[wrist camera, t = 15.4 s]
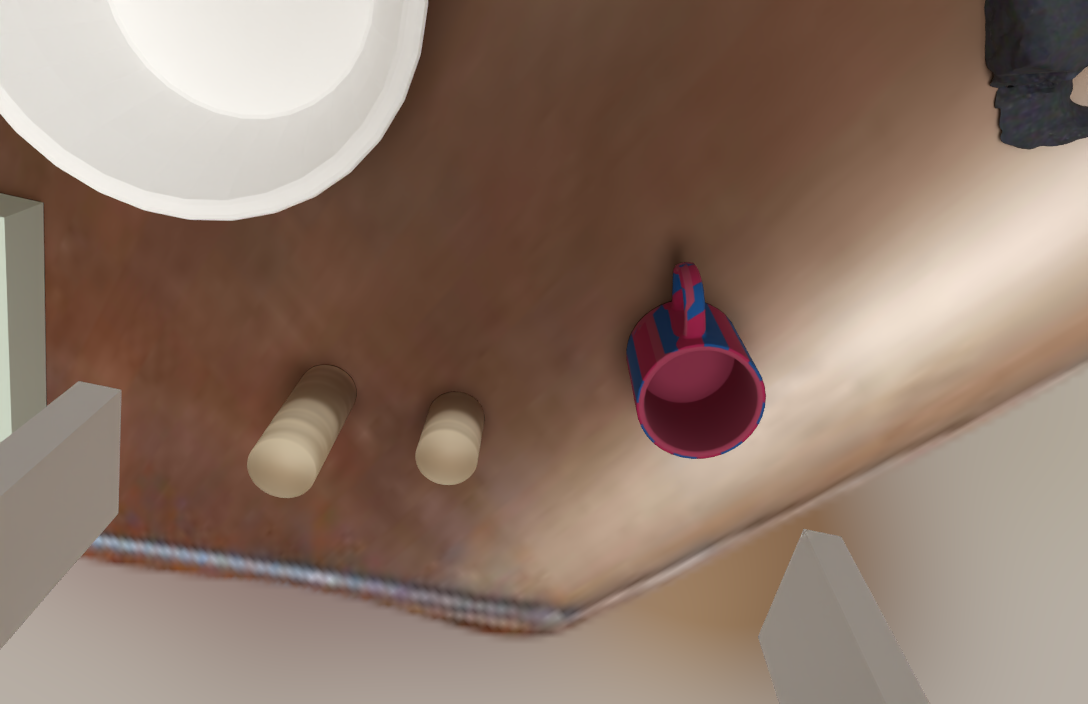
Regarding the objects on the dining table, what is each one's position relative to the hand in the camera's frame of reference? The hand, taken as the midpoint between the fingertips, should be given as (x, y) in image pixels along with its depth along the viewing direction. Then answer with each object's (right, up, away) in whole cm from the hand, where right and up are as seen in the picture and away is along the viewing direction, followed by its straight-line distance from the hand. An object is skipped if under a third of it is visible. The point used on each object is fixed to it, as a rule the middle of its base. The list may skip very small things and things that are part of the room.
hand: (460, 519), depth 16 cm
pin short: (-4, -1, +35) cm, 35 cm away
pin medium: (-12, +1, +34) cm, 36 cm away
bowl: (-14, +22, +26) cm, 36 cm away
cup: (+10, +5, +32) cm, 34 cm away
